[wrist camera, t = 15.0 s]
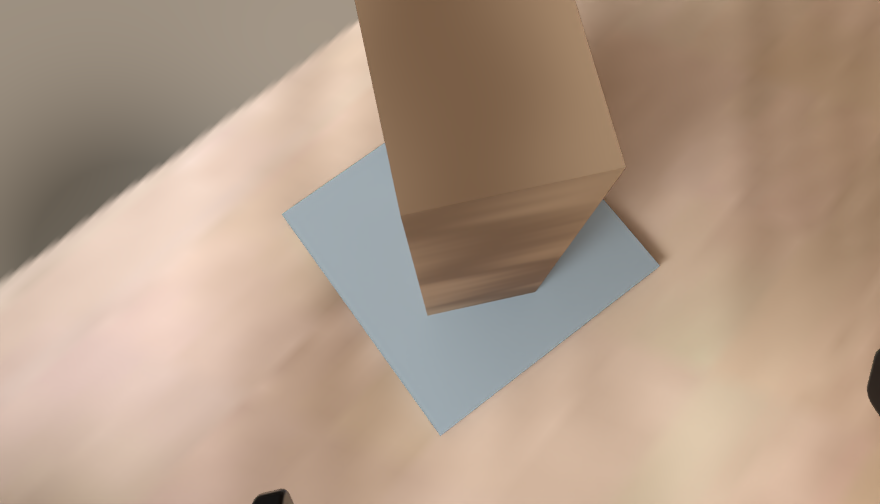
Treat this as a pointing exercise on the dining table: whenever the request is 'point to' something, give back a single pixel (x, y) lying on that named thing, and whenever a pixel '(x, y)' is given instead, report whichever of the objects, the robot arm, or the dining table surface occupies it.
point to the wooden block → (488, 138)
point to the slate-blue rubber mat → (462, 330)
